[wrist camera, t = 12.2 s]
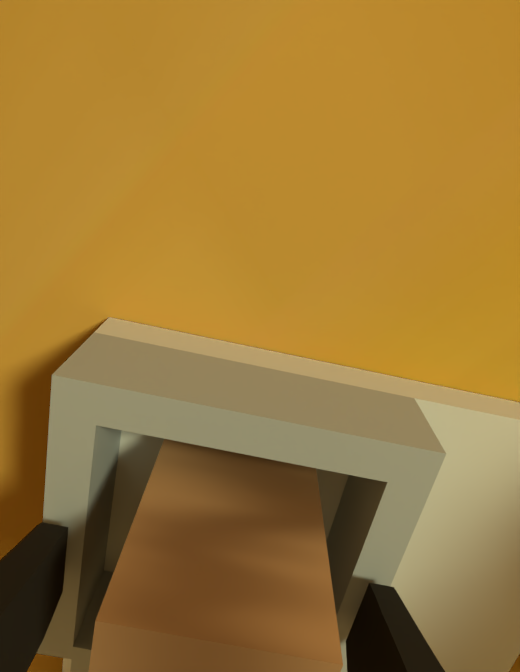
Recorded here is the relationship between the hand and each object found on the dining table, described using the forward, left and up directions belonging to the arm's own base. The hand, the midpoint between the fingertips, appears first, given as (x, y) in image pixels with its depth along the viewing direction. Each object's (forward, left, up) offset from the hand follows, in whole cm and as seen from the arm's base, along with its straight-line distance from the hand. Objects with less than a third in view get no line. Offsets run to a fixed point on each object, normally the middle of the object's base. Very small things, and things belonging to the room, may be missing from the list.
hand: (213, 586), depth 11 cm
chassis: (-3, +4, -4) cm, 7 cm away
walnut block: (0, 0, -3) cm, 3 cm away
